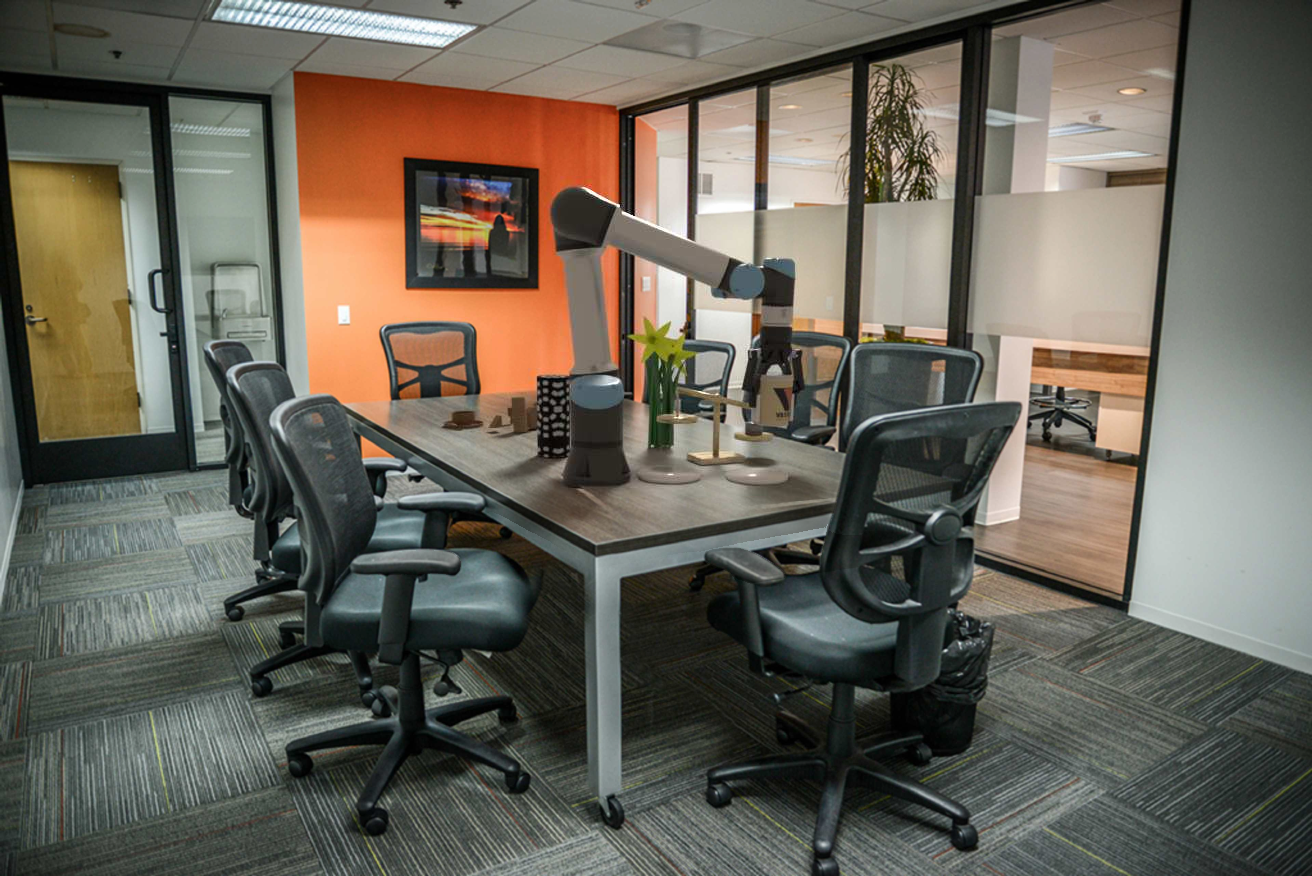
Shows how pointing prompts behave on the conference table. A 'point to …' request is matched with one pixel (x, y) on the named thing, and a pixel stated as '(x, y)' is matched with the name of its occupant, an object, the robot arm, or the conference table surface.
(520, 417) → the wooden block set
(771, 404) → the coffee cup
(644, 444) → the conference table surface
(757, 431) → the balance
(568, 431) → the spotted tube
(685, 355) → the daffodil flowers
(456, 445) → the conference table surface
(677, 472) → the disc
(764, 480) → the dish
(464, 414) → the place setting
